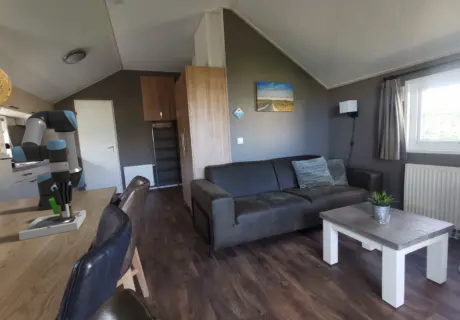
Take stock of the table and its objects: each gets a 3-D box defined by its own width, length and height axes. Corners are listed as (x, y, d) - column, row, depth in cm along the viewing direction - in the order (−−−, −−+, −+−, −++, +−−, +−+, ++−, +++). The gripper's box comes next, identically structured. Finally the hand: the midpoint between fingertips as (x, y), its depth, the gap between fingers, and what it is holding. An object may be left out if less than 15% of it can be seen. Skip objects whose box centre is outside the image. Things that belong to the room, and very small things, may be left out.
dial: (28, 232, 105) (26, 215, 104) (46, 220, 120) (43, 205, 119) (68, 226, 109) (65, 210, 108) (80, 215, 124) (78, 201, 123)
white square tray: (38, 223, 120) (37, 216, 120) (86, 215, 129) (85, 209, 129) (19, 240, 100) (18, 232, 100) (77, 229, 109) (76, 221, 108)
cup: (60, 219, 126) (57, 200, 124) (47, 219, 127) (44, 200, 126) (74, 213, 134) (71, 195, 133) (61, 213, 136) (59, 195, 135)
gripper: (56, 172, 104) (63, 221, 106) (76, 168, 117) (82, 212, 119) (41, 173, 104) (48, 221, 106) (62, 169, 117) (68, 213, 119)
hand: (66, 216), depth 113 cm, fingers closed
